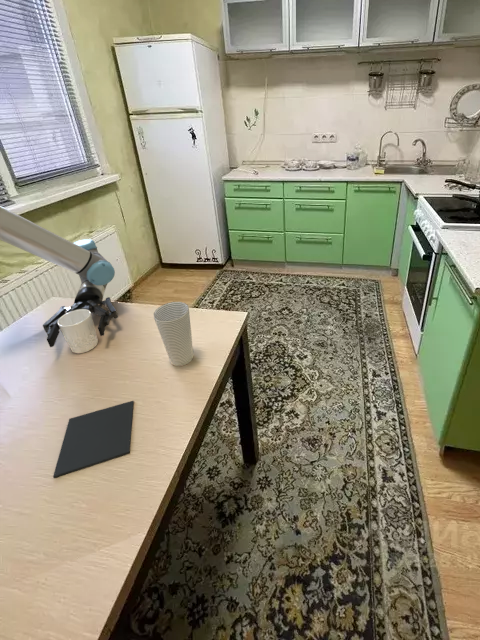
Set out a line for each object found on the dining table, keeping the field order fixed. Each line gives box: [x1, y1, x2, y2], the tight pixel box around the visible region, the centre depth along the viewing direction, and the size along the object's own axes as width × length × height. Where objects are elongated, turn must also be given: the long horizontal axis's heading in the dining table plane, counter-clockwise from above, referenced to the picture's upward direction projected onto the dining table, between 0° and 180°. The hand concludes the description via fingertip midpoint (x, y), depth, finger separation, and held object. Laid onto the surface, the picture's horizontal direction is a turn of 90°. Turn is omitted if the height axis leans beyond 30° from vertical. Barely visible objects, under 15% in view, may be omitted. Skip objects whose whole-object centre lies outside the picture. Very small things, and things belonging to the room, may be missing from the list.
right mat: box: [52, 400, 135, 479], centre depth 67 cm, size 13×13×1 cm
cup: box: [153, 301, 194, 367], centre depth 84 cm, size 8×8×16 cm
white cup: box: [57, 309, 99, 354], centre depth 91 cm, size 8×8×10 cm
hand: (75, 337), depth 87 cm, fingers open, 11 cm apart
